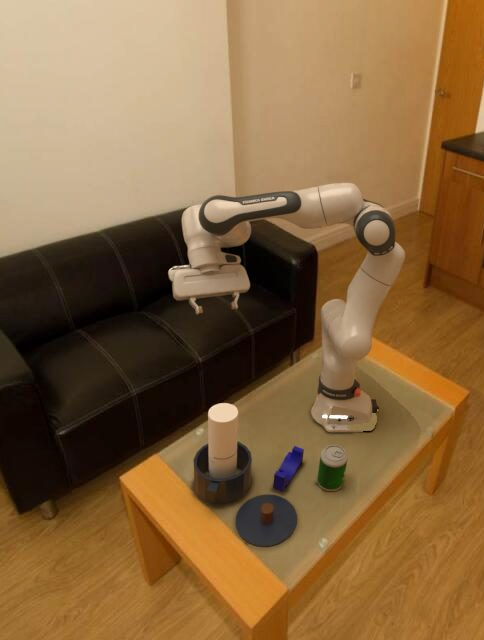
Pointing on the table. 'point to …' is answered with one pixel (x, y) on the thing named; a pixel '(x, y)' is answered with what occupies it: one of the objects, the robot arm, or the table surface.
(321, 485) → the soda can
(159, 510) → the table surface
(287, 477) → the cable clip
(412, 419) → the table surface
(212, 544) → the table surface
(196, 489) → the pot
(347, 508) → the table surface
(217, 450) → the cylindrical container
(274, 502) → the pot lid
